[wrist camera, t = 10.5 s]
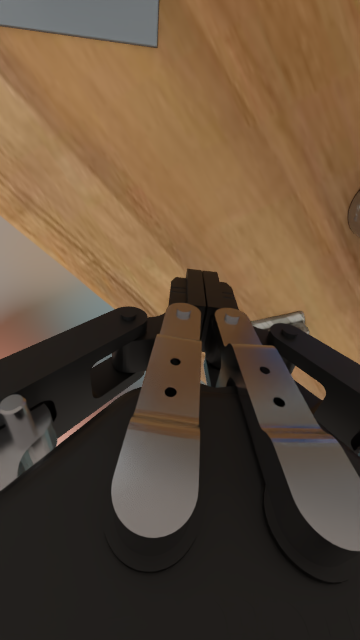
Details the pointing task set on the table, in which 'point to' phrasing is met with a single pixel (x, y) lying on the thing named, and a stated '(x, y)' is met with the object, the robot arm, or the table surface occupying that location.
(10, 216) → the table surface
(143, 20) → the mat
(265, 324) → the packaged product
